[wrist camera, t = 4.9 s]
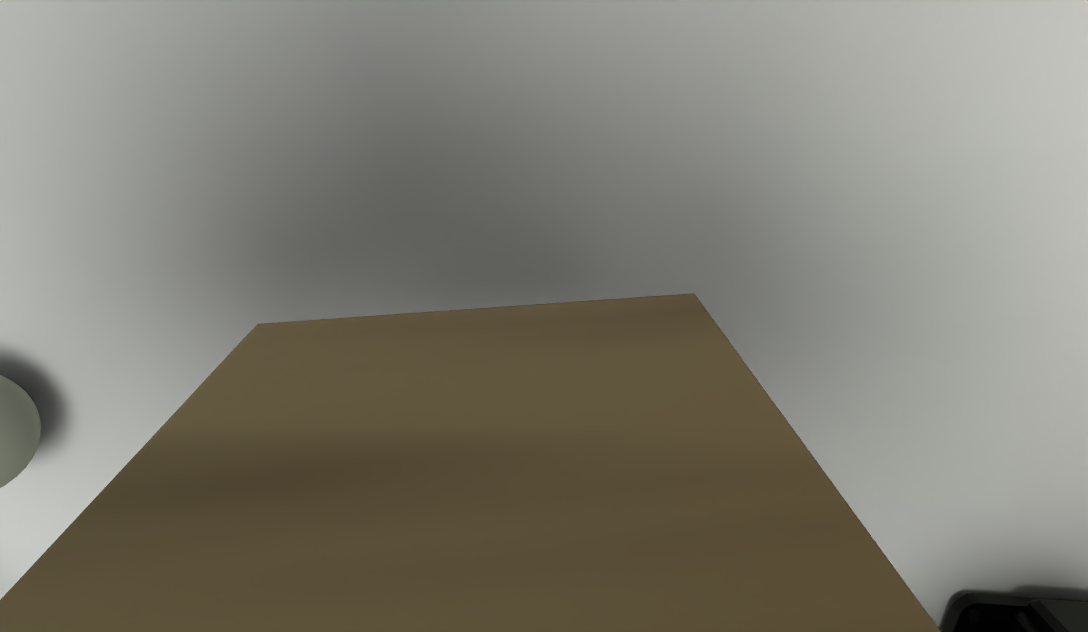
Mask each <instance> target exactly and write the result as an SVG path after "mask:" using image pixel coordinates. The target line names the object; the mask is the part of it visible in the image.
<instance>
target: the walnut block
mask: <svg viewBox="0 0 1088 632" xmlns="http://www.w3.org/2000/svg"><path fill="white" fill-rule="evenodd" d="M0 632H941V631H940V630H939V629H938V627H937V626H936V625H935V623H934V622H933V620H932V619H931V618H930V616H929V615H928V614H927V612H926V611H925V609H924V608H923V607H922V605H921V604H920V603H919V601H918V600H917V598H916V597H915V596H914V594H913V593H912V592H911V590H910V589H909V588H908V586H907V585H906V583H905V582H904V581H903V579H902V578H901V577H900V575H899V574H898V572H897V571H896V570H895V568H894V567H893V566H892V564H891V563H890V561H889V560H888V559H887V557H886V556H885V555H884V553H883V552H882V550H881V549H880V548H879V546H878V545H877V544H876V542H875V541H874V540H873V538H872V537H871V535H870V534H869V533H868V531H867V530H866V529H865V527H864V526H863V524H862V523H861V522H860V520H859V519H858V518H857V516H856V515H855V513H854V512H853V511H852V509H851V508H850V507H849V505H848V504H847V502H846V501H845V500H844V498H843V497H842V496H841V494H840V493H839V492H838V490H837V489H836V487H835V486H834V485H833V483H832V482H831V481H830V479H829V478H828V476H827V475H826V474H825V472H824V471H823V470H822V468H821V467H820V465H819V464H818V463H817V461H816V460H815V459H814V457H813V456H812V454H811V453H810V452H809V450H808V449H807V448H806V446H805V445H804V444H803V442H802V441H801V439H800V438H799V437H798V435H797V434H796V433H795V431H794V430H793V428H792V427H791V426H790V424H789V423H788V422H787V420H786V419H785V417H784V416H783V415H782V413H781V412H780V411H779V409H778V408H777V406H776V405H775V404H774V402H773V401H772V400H771V398H770V397H769V396H768V394H767V393H766V391H765V390H764V389H763V387H762V386H761V385H760V383H759V382H758V380H757V379H756V378H755V376H754V375H753V374H752V372H751V371H750V369H749V368H748V367H747V365H746V364H745V363H744V361H743V360H742V358H741V357H740V356H739V354H738V353H737V352H736V350H735V349H734V348H733V346H732V345H731V343H730V342H729V341H728V339H727V338H726V337H725V335H724V334H723V332H722V331H721V330H720V328H719V327H718V326H717V324H716V323H715V321H714V320H713V319H712V317H711V316H710V315H709V313H708V312H707V310H706V309H705V308H704V306H703V305H702V304H701V302H700V301H699V300H698V298H697V297H696V295H695V294H680V295H665V296H651V297H637V298H622V299H608V300H594V301H579V302H565V303H551V304H536V305H522V306H508V307H493V308H479V309H465V310H450V311H436V312H422V313H407V314H393V315H379V316H364V317H350V318H336V319H321V320H307V321H293V322H278V323H264V324H257V325H256V326H255V327H254V328H253V330H252V331H251V332H250V333H249V334H248V335H247V336H246V337H245V338H244V339H243V340H242V341H241V342H240V343H239V345H238V346H237V347H236V348H235V349H234V350H233V351H232V352H231V353H230V354H229V355H228V356H227V357H226V359H225V360H224V361H223V362H222V363H221V364H220V365H219V366H218V367H217V368H216V369H215V370H214V371H213V372H212V374H211V375H210V376H209V377H208V378H207V379H206V380H205V381H204V382H203V383H202V384H201V385H200V386H199V387H198V389H197V390H196V391H195V392H194V393H193V394H192V395H191V396H190V397H189V398H188V399H187V400H186V401H185V403H184V404H183V405H182V406H181V407H180V408H179V409H178V410H177V411H176V412H175V413H174V414H173V415H172V416H171V418H170V419H169V420H168V421H167V422H166V423H165V424H164V425H163V426H162V427H161V428H160V429H159V430H158V431H157V433H156V434H155V435H154V436H153V437H152V438H151V439H150V440H149V441H148V442H147V443H146V444H145V445H144V446H143V448H142V449H141V450H140V451H139V452H138V453H137V454H136V455H135V456H134V457H133V458H132V459H131V460H130V462H129V463H128V464H127V465H126V466H125V467H124V468H123V469H122V470H121V471H120V472H119V473H118V474H117V475H116V477H115V478H114V479H113V480H112V481H111V482H110V483H109V484H108V485H107V486H106V487H105V488H104V489H103V490H102V492H101V493H100V494H99V495H98V496H97V497H96V498H95V499H94V500H93V501H92V502H91V503H90V504H89V505H88V507H87V508H86V509H85V510H84V511H83V512H82V513H81V514H80V515H79V516H78V517H77V518H76V519H75V521H74V522H73V523H72V524H71V525H70V526H69V527H68V528H67V529H66V530H65V531H64V532H63V533H62V534H61V536H60V537H59V538H58V539H57V540H56V541H55V542H54V543H53V544H52V545H51V546H50V547H49V548H48V549H47V551H46V552H45V553H44V554H43V555H42V556H41V557H40V558H39V559H38V560H37V561H36V562H35V563H34V565H33V566H32V567H31V568H30V569H29V570H28V571H27V572H26V573H25V574H24V575H23V576H22V577H21V578H20V580H19V581H18V582H17V583H16V584H15V585H14V586H13V587H12V588H11V589H10V590H9V591H8V592H7V593H6V595H5V596H4V597H3V598H2V599H1V600H0Z"/></svg>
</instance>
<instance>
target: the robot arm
mask: <svg viewBox="0 0 1088 632" xmlns="http://www.w3.org/2000/svg"><path fill="white" fill-rule="evenodd" d="M972 610H973V611H972ZM942 632H1088V602H1082V601H1067V600H1053V599H1039V598H1025V597H1011V596H997V595H982V594H966V595H963V596H961V597H959V598H958V599H957V600H956V601H955V602H954V603H953V605H952V607H951V610H950V612H949V615H948V618H947V620H946V623H945V626H944V628H943V631H942Z"/></svg>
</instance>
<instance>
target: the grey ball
mask: <svg viewBox="0 0 1088 632" xmlns="http://www.w3.org/2000/svg"><path fill="white" fill-rule="evenodd" d="M40 433H41V423H40V417H39V413H38V410H37V408H36V406H35V404H34V402H33V400H32V399H31V398H30V396H29V395H28V394H27V393H26V392H25V391H24V390H23V389H22V388H21V387H20V386H19V385H17V384H16V383H15V382H13V381H11V380H10V379H8V378H6V377H4V376H1V375H0V488H1V487H3V486H4V485H6V484H7V483H9V482H10V481H11V480H13V479H14V478H15V477H17V476H18V475H19V474H20V473H21V472H22V471H23V470H24V468H25V467H26V466H27V465H28V463H29V462H30V460H31V459H32V458H33V456H34V454H35V451H36V449H37V447H38V444H39V440H40Z"/></svg>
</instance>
